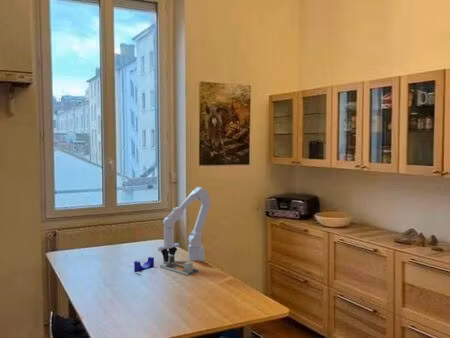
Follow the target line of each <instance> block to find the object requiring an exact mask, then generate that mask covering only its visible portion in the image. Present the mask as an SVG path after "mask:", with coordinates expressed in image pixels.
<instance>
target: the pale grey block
mask: <svg viewBox="0 0 450 338" xmlns="http://www.w3.org/2000/svg"><path fill="white" fill-rule="evenodd" d="M175 258H176V256H175V255H172V254H168V262H165V261H164V257H163V256H162V263H163V264H166V265H169V264H171V262H174V263H176V262H175V260H176V259H175Z"/></svg>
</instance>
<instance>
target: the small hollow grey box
mask: <svg viewBox="0 0 450 338" xmlns="http://www.w3.org/2000/svg"><path fill="white" fill-rule="evenodd" d="M193 263H194V262H193V261H192V262H191V261H186V262H184V263H183V265H184V272H186V273H191V272H193V268H194V267H193Z"/></svg>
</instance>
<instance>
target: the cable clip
mask: <svg viewBox="0 0 450 338" xmlns="http://www.w3.org/2000/svg"><path fill="white" fill-rule="evenodd" d="M133 264H134V265H133V266H134V267H133V268H134V269H133V272H134V273H137V272H138V273H139V272H142V271H145V270H149V269H153V268H154V269H155V258H154V257H151V256H148V257H147V261H146V262H144V263H143V264H142V265H141V261H138V260H134V262H133Z"/></svg>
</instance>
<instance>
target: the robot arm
mask: <svg viewBox="0 0 450 338" xmlns="http://www.w3.org/2000/svg"><path fill="white" fill-rule="evenodd" d="M195 201H199V202H200V204H201V205H200V207H199V211H198V214H197V218H196V220H195V224H194V227H193V230H191V232H190V234H189V235H188V237H187V241H188V255H187V257H188V261H190V262H191V261H192V262H193V261H194V262H196V261H198V262H205V261H206V258H205V256H206V255H205V247H204V245H202V237H203V235H202V234H203V230H204V226H205V223H206V220H207V217H208V214H209V211H210V207H211V198H210V194H209V192H208V190H207V189H205V188H203V187H201V186H196V187H195V188H194V189H193V190H191V192H190V193H189V195H188V196H187V197H186V198H185V199H184V201H182V203H181V204H180V205H179V206H176V207H173V208H172V211H171V212H170V213H169V214H167V216H166V217H164V219H163V221H162V225H163V245H161V246H157V251H159V252H161V254H162V258H163V257H164V261H165V262H168V254H172V255H175V254H176V252H177V250H178V248H179V247H180V243H179V242H174V241H175V240H174V239H175V238H174V236H175V234H174V227H175V224H176V222H177V221H178V220H179V219H180V218H181V217H182V216H183V215H184V210H186V208H188V207H189V206H190V205H191V204H192V203H193V202H195Z"/></svg>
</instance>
